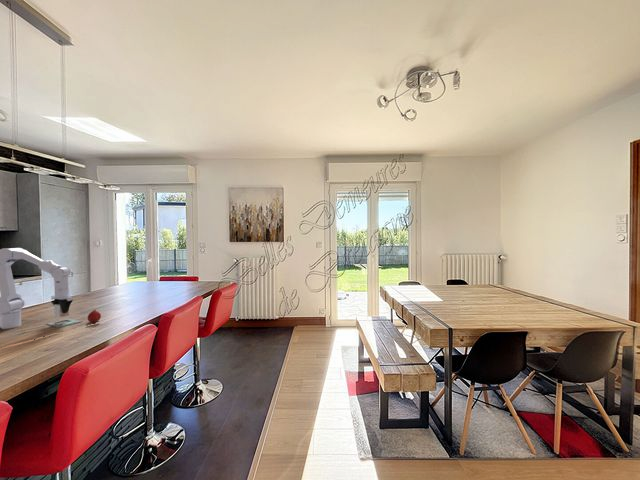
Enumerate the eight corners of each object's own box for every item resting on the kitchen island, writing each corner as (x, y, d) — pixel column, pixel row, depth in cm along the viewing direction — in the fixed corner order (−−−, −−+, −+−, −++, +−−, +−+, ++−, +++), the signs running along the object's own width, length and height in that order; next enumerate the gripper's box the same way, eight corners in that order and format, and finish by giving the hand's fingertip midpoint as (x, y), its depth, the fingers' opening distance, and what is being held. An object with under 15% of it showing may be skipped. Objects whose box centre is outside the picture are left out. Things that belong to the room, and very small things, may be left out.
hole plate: (46, 326, 150) (46, 323, 150) (68, 320, 159) (68, 318, 159) (59, 329, 145) (59, 326, 145) (82, 323, 154) (82, 320, 154)
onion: (93, 325, 151) (92, 311, 151) (85, 324, 152) (84, 310, 152) (103, 322, 156) (103, 308, 156) (95, 321, 158) (95, 308, 157)
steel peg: (54, 316, 151) (54, 304, 151) (64, 314, 155) (63, 302, 155) (59, 317, 150) (59, 304, 150) (69, 315, 154) (68, 303, 154)
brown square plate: (18, 331, 142) (18, 329, 142) (41, 326, 150) (41, 324, 150) (27, 333, 138) (26, 331, 138) (50, 328, 147) (50, 326, 147)
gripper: (44, 289, 151) (45, 313, 151) (61, 290, 147) (62, 315, 147) (59, 287, 158) (60, 310, 158) (76, 288, 153) (77, 311, 154)
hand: (62, 312), depth 153 cm, fingers closed on steel peg, 4 cm apart
